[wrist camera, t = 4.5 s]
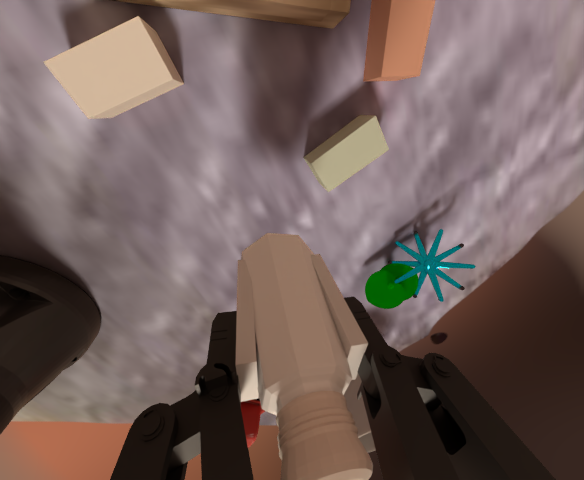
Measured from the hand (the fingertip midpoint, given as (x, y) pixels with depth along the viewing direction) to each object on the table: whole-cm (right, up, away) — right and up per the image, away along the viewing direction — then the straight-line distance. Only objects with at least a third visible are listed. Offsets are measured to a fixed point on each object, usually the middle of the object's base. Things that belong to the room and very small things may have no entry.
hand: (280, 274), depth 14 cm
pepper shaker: (0, +1, +1) cm, 1 cm away
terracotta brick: (+8, +18, +2) cm, 20 cm away
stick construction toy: (+14, +1, +14) cm, 20 cm away
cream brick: (-10, +14, +1) cm, 17 cm away
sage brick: (+5, +11, +6) cm, 13 cm away
